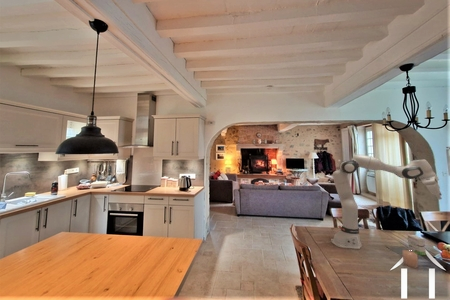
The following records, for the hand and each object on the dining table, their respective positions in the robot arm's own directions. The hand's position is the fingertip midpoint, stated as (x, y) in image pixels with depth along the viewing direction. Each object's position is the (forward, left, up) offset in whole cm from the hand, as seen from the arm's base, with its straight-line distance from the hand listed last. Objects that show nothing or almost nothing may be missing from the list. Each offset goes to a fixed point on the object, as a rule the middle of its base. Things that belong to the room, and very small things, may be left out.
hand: (440, 197), depth 128 cm
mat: (-20, +9, -44) cm, 49 cm away
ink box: (-10, +9, -44) cm, 46 cm away
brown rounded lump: (-30, -7, -44) cm, 54 cm away
